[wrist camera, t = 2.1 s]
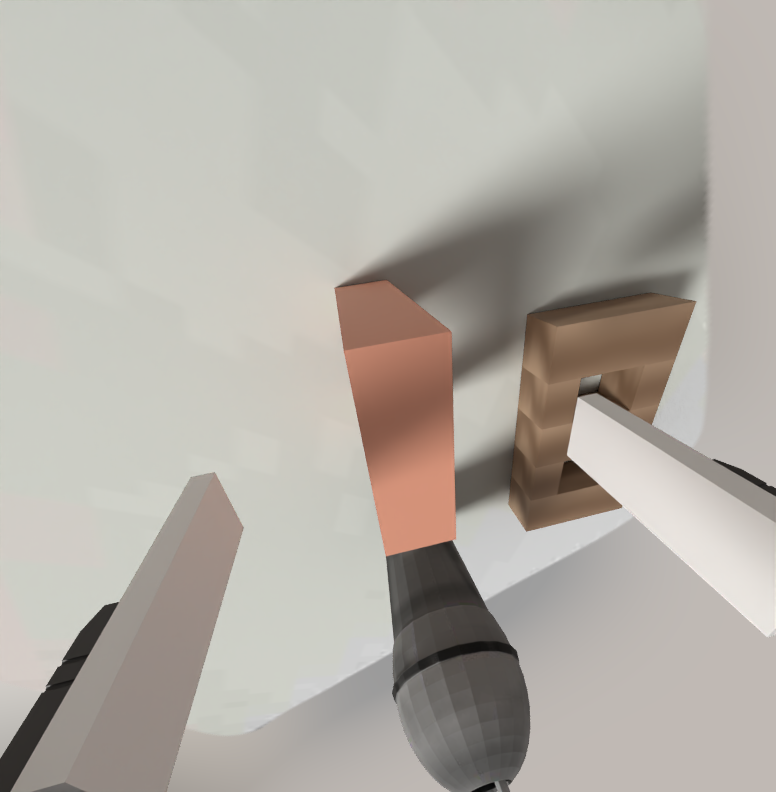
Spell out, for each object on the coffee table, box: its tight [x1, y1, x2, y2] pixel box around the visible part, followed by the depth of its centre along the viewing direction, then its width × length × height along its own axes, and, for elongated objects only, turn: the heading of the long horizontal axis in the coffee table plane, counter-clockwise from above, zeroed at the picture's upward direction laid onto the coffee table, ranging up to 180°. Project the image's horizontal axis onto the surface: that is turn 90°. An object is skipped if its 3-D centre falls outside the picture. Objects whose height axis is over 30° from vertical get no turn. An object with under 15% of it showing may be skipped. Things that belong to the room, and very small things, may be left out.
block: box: [335, 280, 456, 556], centre depth 15 cm, size 9×3×10 cm, turn 7°
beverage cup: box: [386, 540, 530, 792], centre depth 18 cm, size 7×7×20 cm
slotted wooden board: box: [508, 293, 696, 532], centre depth 24 cm, size 18×9×3 cm, turn 7°
